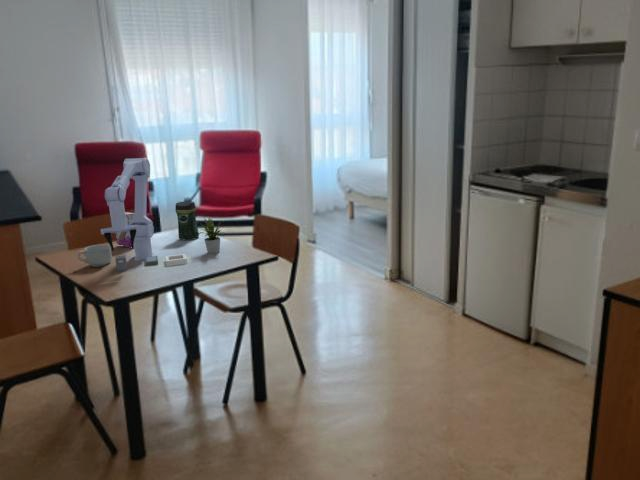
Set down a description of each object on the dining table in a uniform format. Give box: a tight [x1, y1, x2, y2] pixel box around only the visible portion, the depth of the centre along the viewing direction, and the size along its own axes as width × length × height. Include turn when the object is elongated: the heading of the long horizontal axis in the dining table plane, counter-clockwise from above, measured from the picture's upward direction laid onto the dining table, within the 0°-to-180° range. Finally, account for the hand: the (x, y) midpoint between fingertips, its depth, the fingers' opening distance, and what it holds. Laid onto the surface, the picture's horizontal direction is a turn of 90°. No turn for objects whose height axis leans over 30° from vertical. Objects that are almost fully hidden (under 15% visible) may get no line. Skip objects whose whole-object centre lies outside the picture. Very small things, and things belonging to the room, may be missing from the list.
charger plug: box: [114, 255, 128, 272], centre depth 246 cm, size 4×4×6 cm
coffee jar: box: [175, 201, 200, 241], centre depth 295 cm, size 10×8×19 cm
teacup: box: [76, 244, 113, 268], centre depth 256 cm, size 14×11×8 cm
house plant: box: [198, 217, 225, 255], centre depth 267 cm, size 14×14×16 cm
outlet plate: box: [141, 253, 193, 270], centre depth 253 cm, size 13×20×3 cm, turn 107°
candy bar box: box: [115, 211, 135, 248], centre depth 286 cm, size 11×5×16 cm, turn 58°
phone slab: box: [144, 255, 159, 266], centre depth 254 cm, size 9×5×2 cm, turn 17°
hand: (122, 249), depth 243 cm, fingers open, 7 cm apart
